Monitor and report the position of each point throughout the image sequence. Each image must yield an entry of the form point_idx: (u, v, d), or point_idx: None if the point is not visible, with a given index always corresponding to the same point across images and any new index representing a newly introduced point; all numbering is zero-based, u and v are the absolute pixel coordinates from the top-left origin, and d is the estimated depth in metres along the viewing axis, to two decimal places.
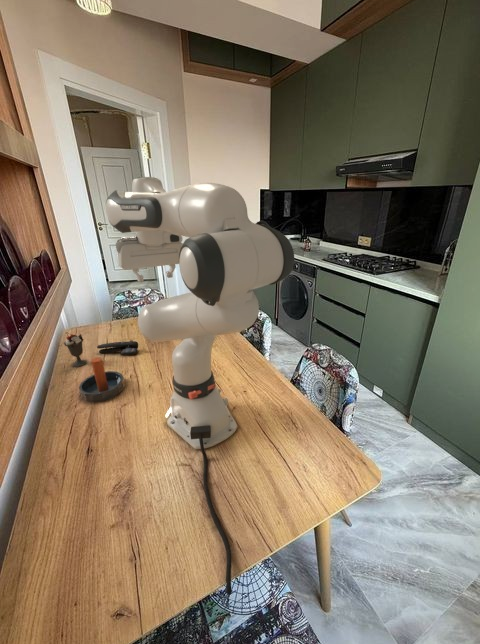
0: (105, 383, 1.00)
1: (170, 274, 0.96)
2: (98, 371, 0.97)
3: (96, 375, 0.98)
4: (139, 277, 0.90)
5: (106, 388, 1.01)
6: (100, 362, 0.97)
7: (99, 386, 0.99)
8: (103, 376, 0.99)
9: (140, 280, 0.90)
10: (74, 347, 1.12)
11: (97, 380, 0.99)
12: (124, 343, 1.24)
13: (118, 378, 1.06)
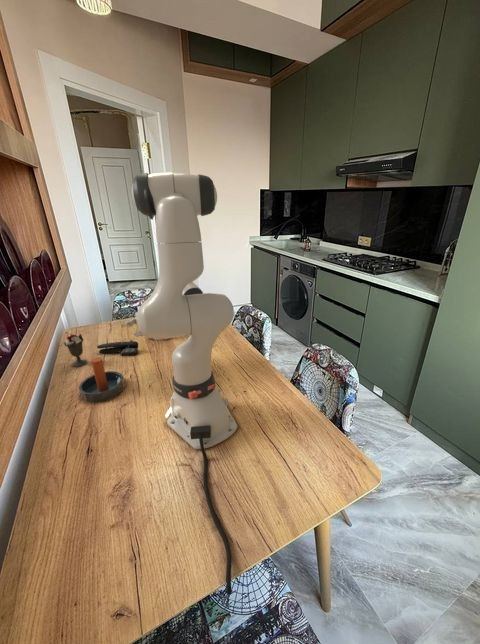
0: (105, 383, 1.00)
1: (137, 330, 0.98)
2: (98, 371, 0.97)
3: (96, 375, 0.98)
4: None
5: (106, 388, 1.01)
6: (100, 362, 0.97)
7: (99, 386, 0.99)
8: (103, 376, 0.99)
9: (127, 321, 1.04)
10: (74, 347, 1.12)
11: (97, 380, 0.99)
12: (124, 343, 1.24)
13: (118, 378, 1.06)
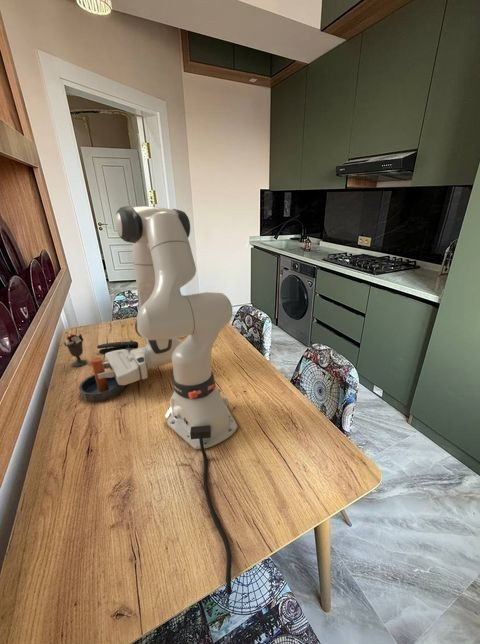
0: (105, 383, 1.00)
1: (101, 372, 0.97)
2: (98, 371, 0.97)
3: (96, 375, 0.98)
4: None
5: (106, 388, 1.01)
6: (100, 362, 0.97)
7: (99, 386, 0.99)
8: None
9: None
10: (74, 347, 1.12)
11: (97, 380, 0.99)
12: (124, 343, 1.24)
13: None
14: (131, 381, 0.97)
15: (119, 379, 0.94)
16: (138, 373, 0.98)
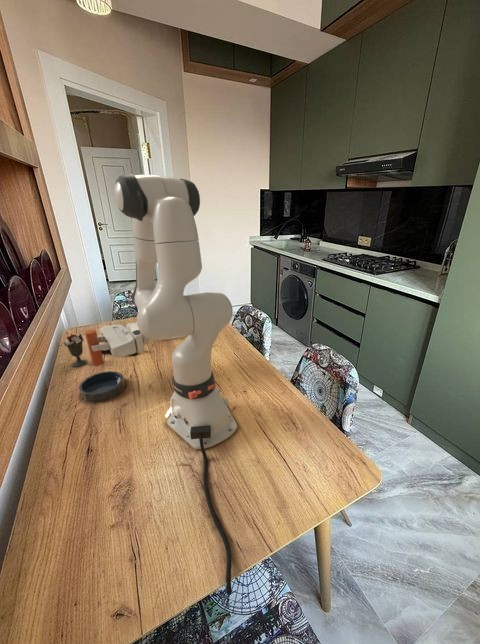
0: (100, 357, 0.96)
1: (95, 344, 0.93)
2: (92, 344, 0.93)
3: (90, 348, 0.94)
4: None
5: (101, 362, 0.97)
6: (94, 334, 0.93)
7: (93, 360, 0.96)
8: None
9: None
10: (74, 347, 1.12)
11: (91, 353, 0.95)
12: None
13: (118, 378, 1.06)
14: (126, 354, 0.93)
15: (114, 351, 0.90)
16: (134, 346, 0.94)
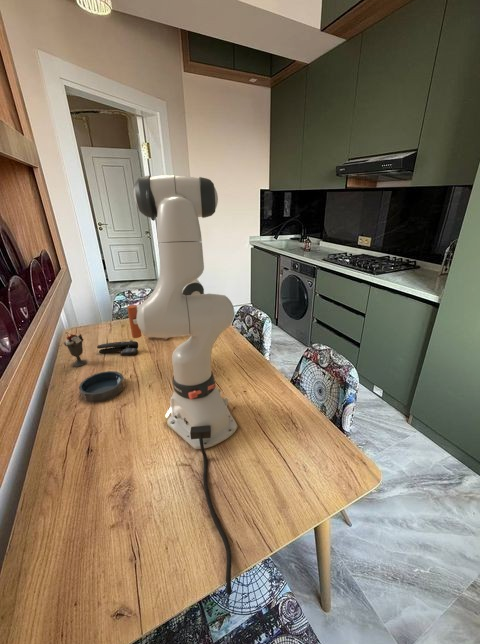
0: (139, 330, 1.06)
1: (136, 318, 1.03)
2: (133, 317, 1.03)
3: (131, 321, 1.04)
4: None
5: (140, 335, 1.07)
6: (135, 308, 1.03)
7: (133, 332, 1.06)
8: None
9: None
10: (74, 347, 1.12)
11: (132, 326, 1.05)
12: (124, 343, 1.24)
13: (118, 378, 1.06)
14: None
15: None
16: None
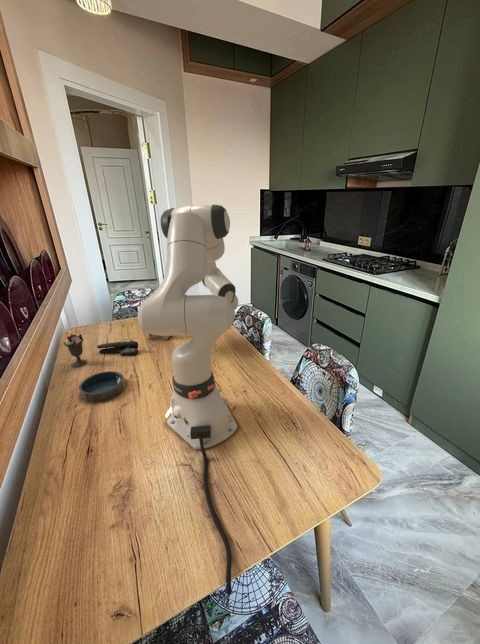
0: None
1: None
2: None
3: None
4: None
5: None
6: None
7: None
8: None
9: None
10: (74, 347, 1.12)
11: None
12: (124, 343, 1.24)
13: (118, 378, 1.06)
14: None
15: None
16: None
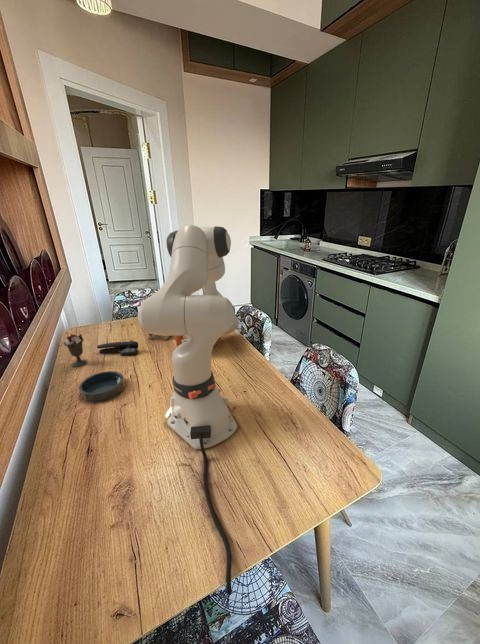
0: None
1: (184, 339, 1.22)
2: (179, 336, 1.24)
3: (177, 339, 1.24)
4: None
5: None
6: None
7: None
8: None
9: None
10: (74, 347, 1.12)
11: (178, 343, 1.25)
12: (124, 343, 1.24)
13: (118, 378, 1.06)
14: None
15: None
16: None
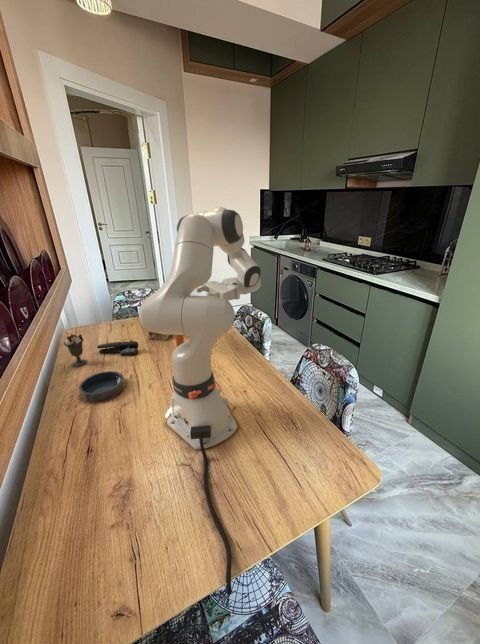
0: None
1: (209, 293, 1.22)
2: (179, 336, 1.24)
3: (177, 339, 1.24)
4: None
5: None
6: None
7: None
8: (182, 340, 1.25)
9: (197, 288, 1.29)
10: (74, 347, 1.12)
11: (178, 343, 1.25)
12: (124, 343, 1.24)
13: (118, 378, 1.06)
14: (230, 298, 1.24)
15: (223, 295, 1.21)
16: (235, 293, 1.25)
